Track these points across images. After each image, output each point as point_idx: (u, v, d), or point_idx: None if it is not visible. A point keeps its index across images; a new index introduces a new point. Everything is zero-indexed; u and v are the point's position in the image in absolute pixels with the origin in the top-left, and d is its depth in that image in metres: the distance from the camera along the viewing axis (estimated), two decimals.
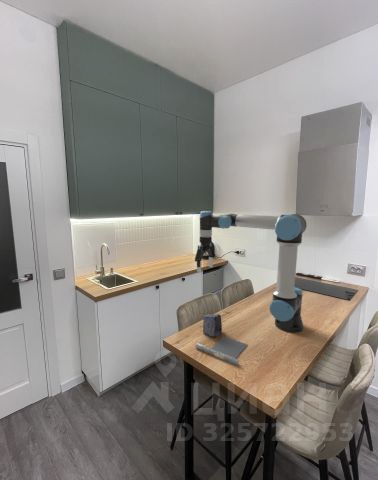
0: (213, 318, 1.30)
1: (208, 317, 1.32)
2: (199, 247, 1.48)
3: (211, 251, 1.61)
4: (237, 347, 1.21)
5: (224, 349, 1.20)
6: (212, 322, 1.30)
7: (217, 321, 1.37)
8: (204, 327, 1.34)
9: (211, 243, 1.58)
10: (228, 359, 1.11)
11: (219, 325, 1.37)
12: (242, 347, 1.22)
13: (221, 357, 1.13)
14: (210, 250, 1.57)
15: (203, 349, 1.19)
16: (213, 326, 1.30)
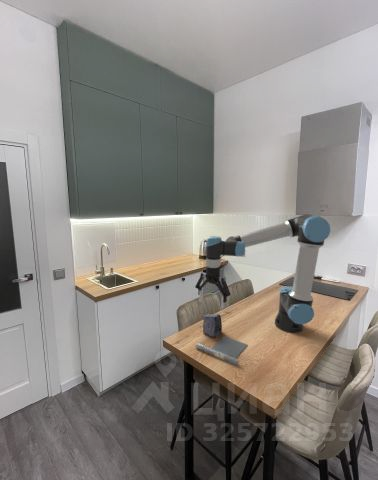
0: (213, 318, 1.30)
1: (208, 317, 1.32)
2: None
3: None
4: (237, 347, 1.21)
5: (224, 349, 1.20)
6: (212, 322, 1.30)
7: (217, 321, 1.37)
8: (204, 327, 1.34)
9: (221, 278, 1.26)
10: (228, 359, 1.11)
11: (219, 325, 1.37)
12: (242, 347, 1.22)
13: (221, 357, 1.13)
14: (218, 285, 1.27)
15: (203, 349, 1.19)
16: (213, 326, 1.30)
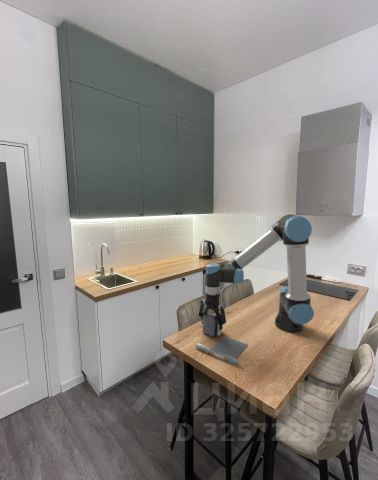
0: (213, 318, 1.30)
1: (208, 317, 1.32)
2: None
3: None
4: (237, 347, 1.21)
5: (224, 349, 1.20)
6: (212, 322, 1.30)
7: (217, 321, 1.37)
8: (204, 327, 1.34)
9: (220, 306, 1.29)
10: (228, 359, 1.11)
11: None
12: (242, 347, 1.22)
13: (221, 357, 1.13)
14: (216, 313, 1.30)
15: (203, 349, 1.19)
16: (213, 326, 1.30)
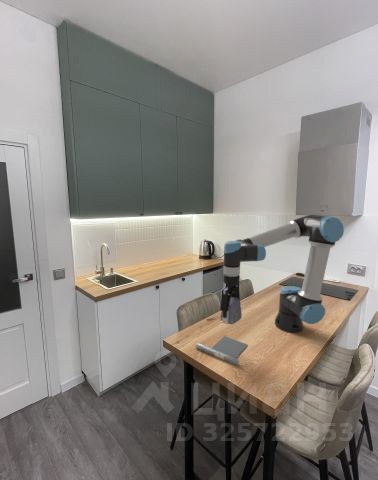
0: (238, 299, 1.18)
1: (235, 302, 1.16)
2: (224, 292, 1.11)
3: None
4: (237, 347, 1.21)
5: (224, 349, 1.20)
6: (238, 304, 1.18)
7: None
8: (233, 317, 1.15)
9: (238, 283, 1.20)
10: (228, 359, 1.11)
11: None
12: (242, 347, 1.22)
13: (221, 357, 1.13)
14: (236, 293, 1.19)
15: (203, 349, 1.19)
16: (239, 307, 1.19)
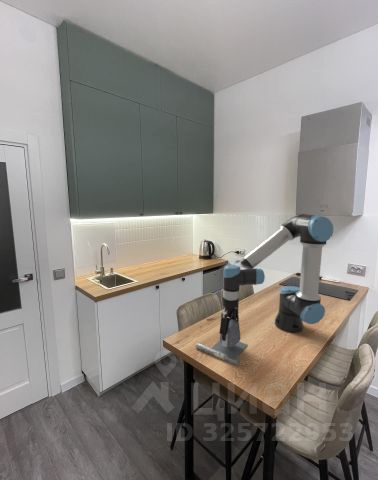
0: (237, 322, 1.20)
1: (234, 325, 1.18)
2: (223, 316, 1.13)
3: None
4: (237, 347, 1.21)
5: (224, 349, 1.20)
6: (237, 327, 1.20)
7: None
8: (232, 340, 1.17)
9: None
10: (228, 359, 1.11)
11: None
12: (242, 347, 1.22)
13: (221, 357, 1.13)
14: None
15: (203, 349, 1.19)
16: (238, 330, 1.21)
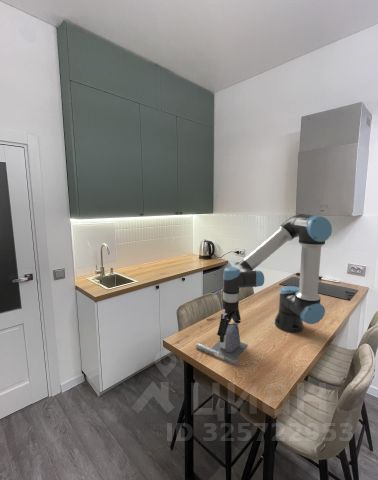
0: (236, 327, 1.20)
1: (233, 331, 1.18)
2: (223, 317, 1.13)
3: (236, 315, 1.26)
4: None
5: None
6: (237, 332, 1.20)
7: None
8: (232, 345, 1.17)
9: None
10: (228, 359, 1.11)
11: None
12: (242, 347, 1.22)
13: (221, 357, 1.13)
14: (235, 316, 1.22)
15: (203, 349, 1.19)
16: (238, 335, 1.21)
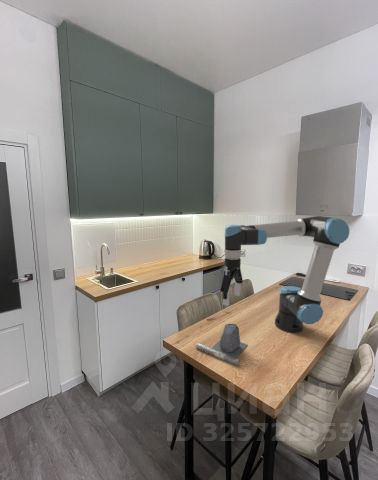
0: (236, 327, 1.20)
1: (233, 331, 1.18)
2: (226, 273, 1.13)
3: None
4: None
5: None
6: (237, 332, 1.20)
7: None
8: (232, 345, 1.17)
9: (238, 265, 1.23)
10: (228, 359, 1.11)
11: None
12: (242, 347, 1.22)
13: (221, 357, 1.13)
14: (238, 275, 1.22)
15: (203, 349, 1.19)
16: (238, 335, 1.21)
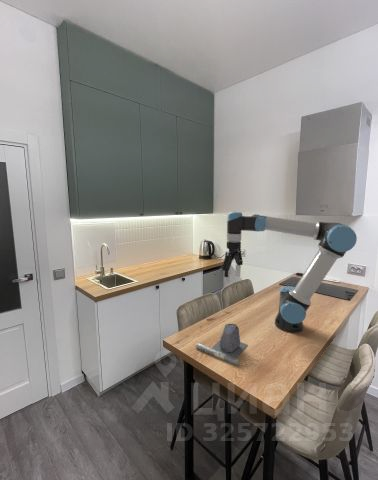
0: (236, 327, 1.20)
1: (233, 331, 1.18)
2: (227, 254, 1.28)
3: (238, 258, 1.40)
4: None
5: None
6: (237, 332, 1.20)
7: None
8: (232, 345, 1.17)
9: (239, 249, 1.37)
10: (228, 359, 1.11)
11: None
12: (242, 347, 1.22)
13: (221, 357, 1.13)
14: (238, 257, 1.37)
15: (203, 349, 1.19)
16: (238, 335, 1.21)
